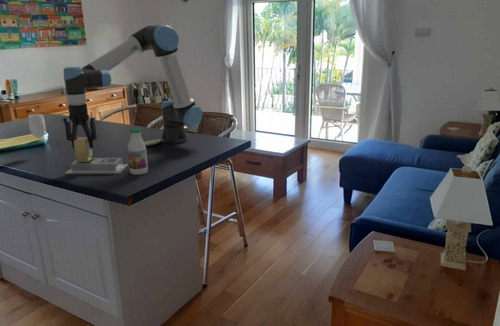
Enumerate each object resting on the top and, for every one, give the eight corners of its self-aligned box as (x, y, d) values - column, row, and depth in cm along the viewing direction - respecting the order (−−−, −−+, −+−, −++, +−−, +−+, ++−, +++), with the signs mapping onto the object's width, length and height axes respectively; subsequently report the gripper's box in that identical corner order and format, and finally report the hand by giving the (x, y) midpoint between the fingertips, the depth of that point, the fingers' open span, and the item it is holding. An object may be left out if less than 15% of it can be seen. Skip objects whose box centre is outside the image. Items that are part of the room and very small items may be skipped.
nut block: (92, 158, 184) (89, 137, 181) (88, 161, 179) (85, 139, 176) (81, 158, 184) (78, 137, 181) (76, 161, 179) (73, 139, 176)
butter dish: (128, 165, 189) (127, 157, 187) (119, 173, 177) (118, 165, 176) (77, 165, 189) (75, 157, 188) (65, 174, 178) (64, 165, 176)
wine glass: (35, 158, 200) (27, 117, 194) (33, 154, 206) (26, 114, 200) (51, 155, 204) (44, 115, 198) (49, 152, 210) (42, 113, 204)
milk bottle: (132, 170, 182) (127, 126, 176) (149, 169, 183) (145, 126, 177) (128, 175, 175) (123, 130, 169) (146, 175, 176) (142, 130, 169)
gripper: (101, 102, 177) (107, 152, 184) (60, 102, 178) (67, 152, 185) (94, 105, 170) (101, 157, 177) (52, 105, 170) (60, 157, 178)
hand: (84, 155), depth 181 cm, fingers closed on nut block, 5 cm apart
